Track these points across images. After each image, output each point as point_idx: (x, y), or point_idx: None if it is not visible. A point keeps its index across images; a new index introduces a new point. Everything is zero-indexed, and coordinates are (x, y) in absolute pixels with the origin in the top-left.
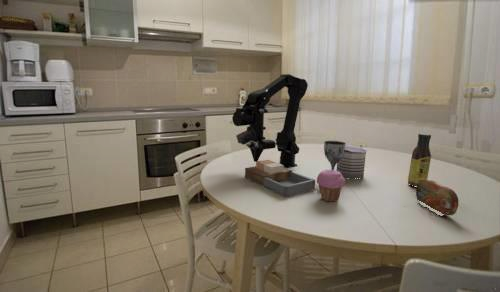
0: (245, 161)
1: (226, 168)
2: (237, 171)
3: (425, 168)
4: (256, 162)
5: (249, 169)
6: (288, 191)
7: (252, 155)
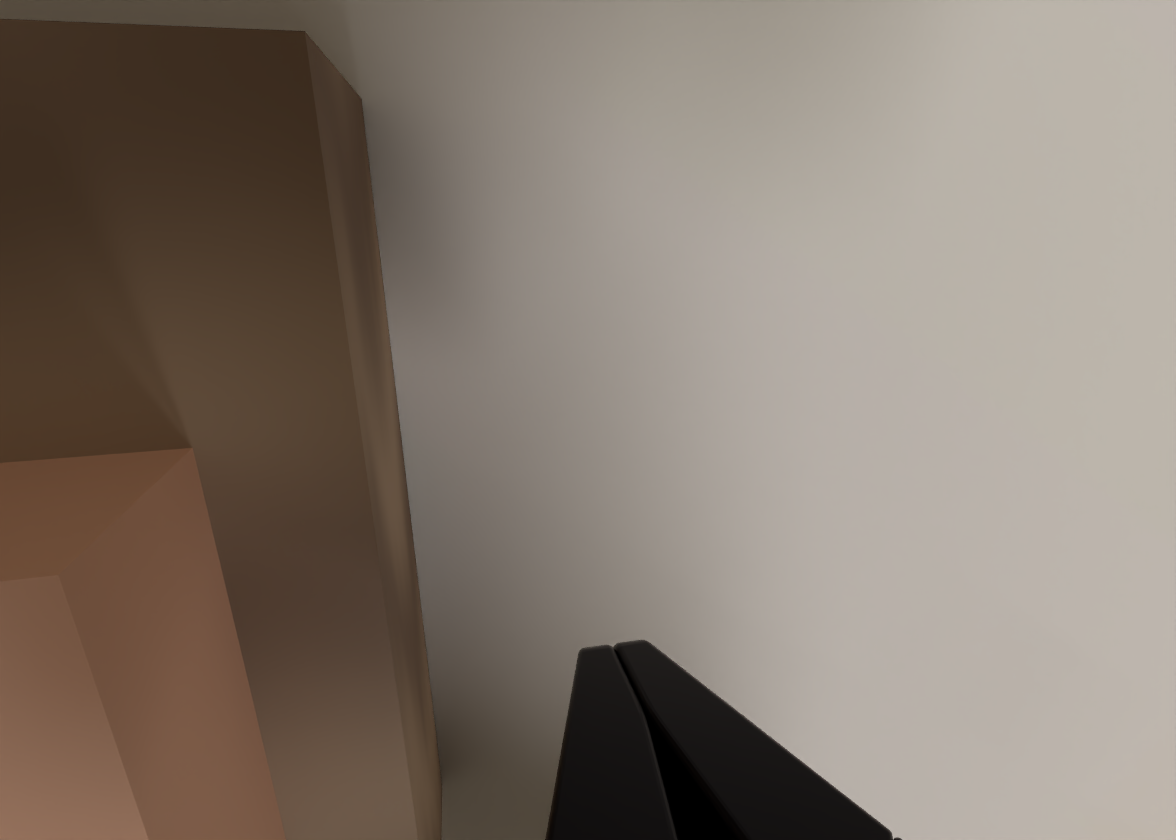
0: (1164, 653)
1: (1149, 137)
2: (860, 232)
3: None
4: (49, 557)
5: (8, 65)
6: None
7: (795, 775)
